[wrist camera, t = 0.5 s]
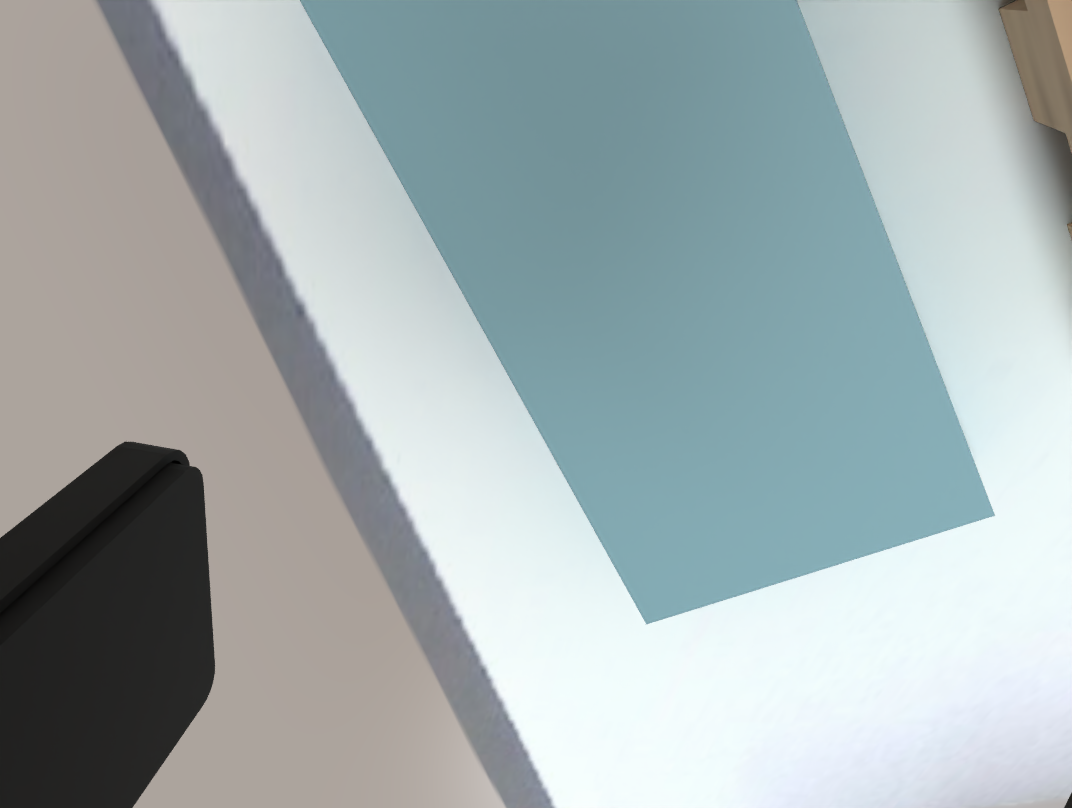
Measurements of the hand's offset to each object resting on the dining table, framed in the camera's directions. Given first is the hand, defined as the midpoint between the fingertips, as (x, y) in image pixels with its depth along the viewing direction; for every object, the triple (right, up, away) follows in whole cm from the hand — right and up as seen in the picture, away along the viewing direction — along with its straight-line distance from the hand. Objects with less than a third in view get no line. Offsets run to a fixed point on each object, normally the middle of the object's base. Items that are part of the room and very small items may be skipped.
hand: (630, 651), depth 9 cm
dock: (+4, +9, +26) cm, 28 cm away
